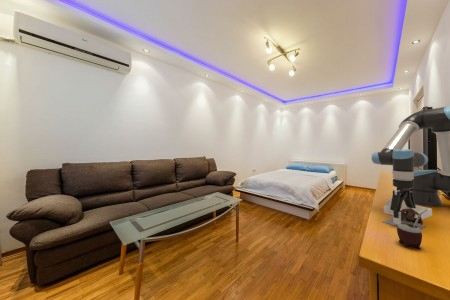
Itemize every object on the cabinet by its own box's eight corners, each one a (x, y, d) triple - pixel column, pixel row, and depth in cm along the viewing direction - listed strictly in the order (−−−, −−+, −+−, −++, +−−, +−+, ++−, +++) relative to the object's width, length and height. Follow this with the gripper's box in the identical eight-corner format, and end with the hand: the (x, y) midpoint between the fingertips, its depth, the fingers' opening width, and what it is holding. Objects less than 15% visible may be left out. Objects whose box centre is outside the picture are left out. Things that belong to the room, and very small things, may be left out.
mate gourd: (393, 242, 72) (393, 206, 72) (402, 238, 75) (402, 204, 75) (419, 252, 65) (418, 212, 65) (428, 247, 68) (428, 209, 68)
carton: (399, 208, 111) (399, 197, 111) (432, 216, 98) (432, 203, 98) (383, 212, 104) (383, 200, 104) (416, 221, 91) (415, 207, 91)
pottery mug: (391, 224, 91) (395, 213, 94) (416, 236, 84) (420, 223, 88) (399, 212, 83) (403, 200, 87) (427, 224, 77) (431, 210, 81)
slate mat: (394, 218, 96) (394, 217, 96) (425, 227, 85) (425, 226, 85) (382, 221, 92) (382, 221, 92) (413, 231, 81) (413, 231, 81)
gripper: (405, 176, 96) (405, 215, 96) (380, 180, 87) (381, 223, 87) (424, 178, 89) (425, 220, 89) (400, 182, 80) (400, 229, 81)
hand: (403, 221), depth 88 cm, fingers closed on pottery mug, 11 cm apart
